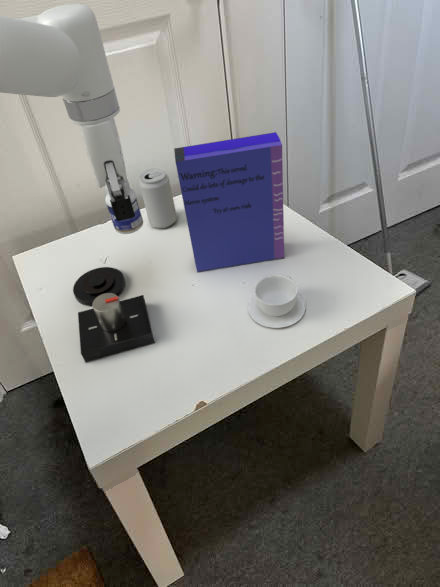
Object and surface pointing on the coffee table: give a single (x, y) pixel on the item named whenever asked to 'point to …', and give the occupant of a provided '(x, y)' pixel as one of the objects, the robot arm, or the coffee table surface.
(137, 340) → the black angular base
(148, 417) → the coffee table surface
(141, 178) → the beverage can
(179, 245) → the coffee table surface
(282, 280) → the teacup
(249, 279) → the coffee table surface
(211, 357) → the coffee table surface
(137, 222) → the pill bottle
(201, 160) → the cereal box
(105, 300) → the hob knob
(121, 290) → the burner
